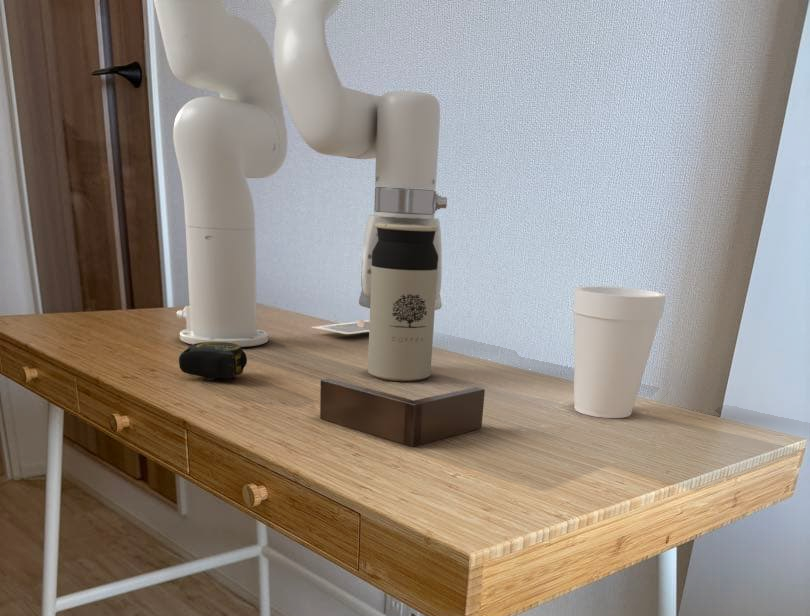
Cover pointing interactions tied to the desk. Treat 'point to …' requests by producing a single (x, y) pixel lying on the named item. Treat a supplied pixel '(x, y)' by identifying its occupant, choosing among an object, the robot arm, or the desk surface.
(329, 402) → the corner guard
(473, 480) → the desk surface
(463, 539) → the desk surface
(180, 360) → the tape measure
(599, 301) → the foam cup
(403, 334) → the travel mug
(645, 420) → the desk surface
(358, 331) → the touchpad
